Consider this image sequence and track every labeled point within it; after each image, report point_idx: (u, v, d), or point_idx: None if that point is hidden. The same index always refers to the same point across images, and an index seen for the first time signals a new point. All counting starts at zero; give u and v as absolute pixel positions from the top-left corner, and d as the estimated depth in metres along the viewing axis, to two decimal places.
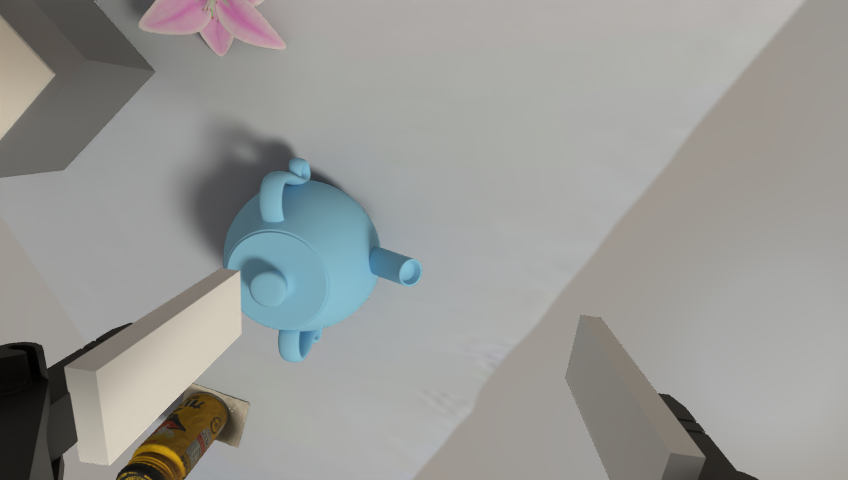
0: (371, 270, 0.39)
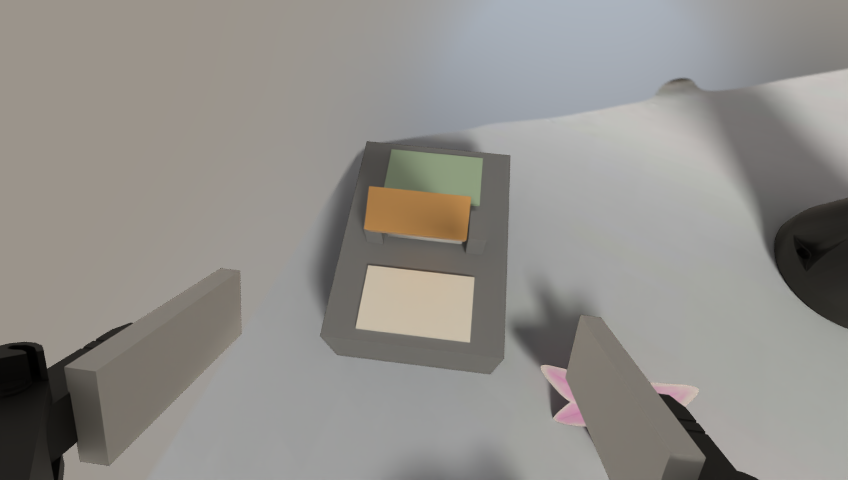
0: None
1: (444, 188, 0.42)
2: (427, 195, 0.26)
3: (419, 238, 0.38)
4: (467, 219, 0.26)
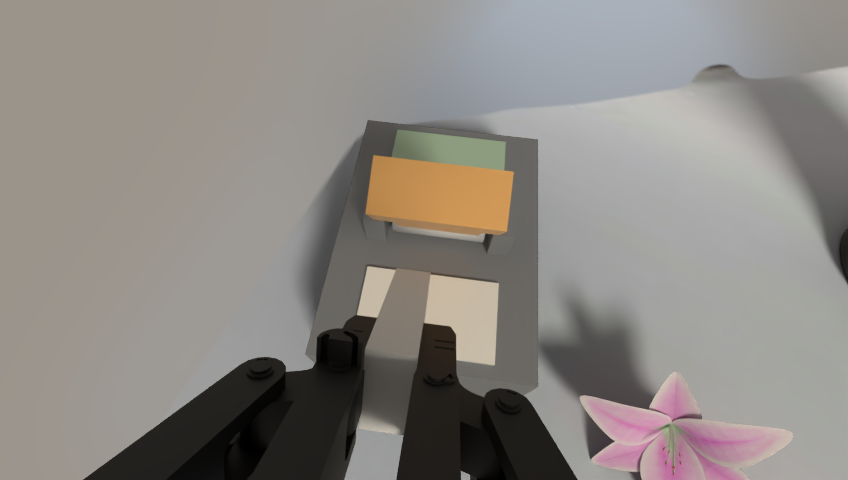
0: None
1: None
2: (453, 169, 0.19)
3: (431, 234, 0.31)
4: (508, 202, 0.19)
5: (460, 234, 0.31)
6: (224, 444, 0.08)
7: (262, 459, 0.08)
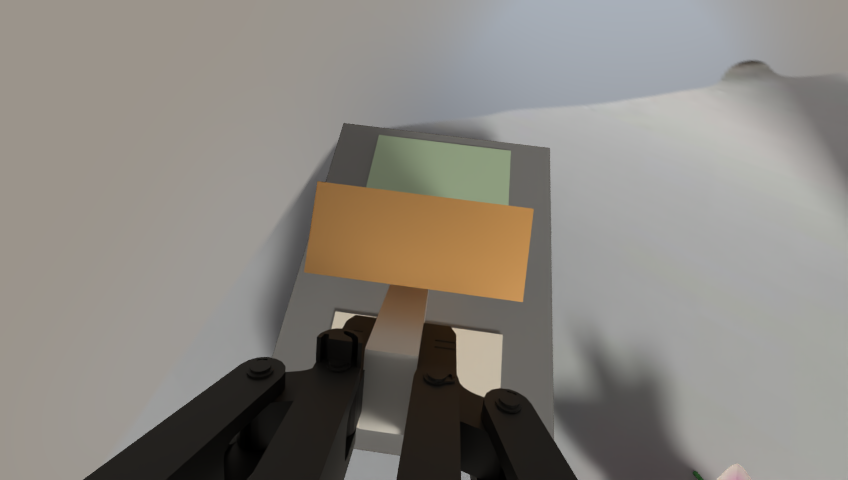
0: None
1: (454, 194, 0.28)
2: (440, 204, 0.12)
3: None
4: (525, 257, 0.12)
5: None
6: (223, 443, 0.08)
7: (262, 459, 0.08)
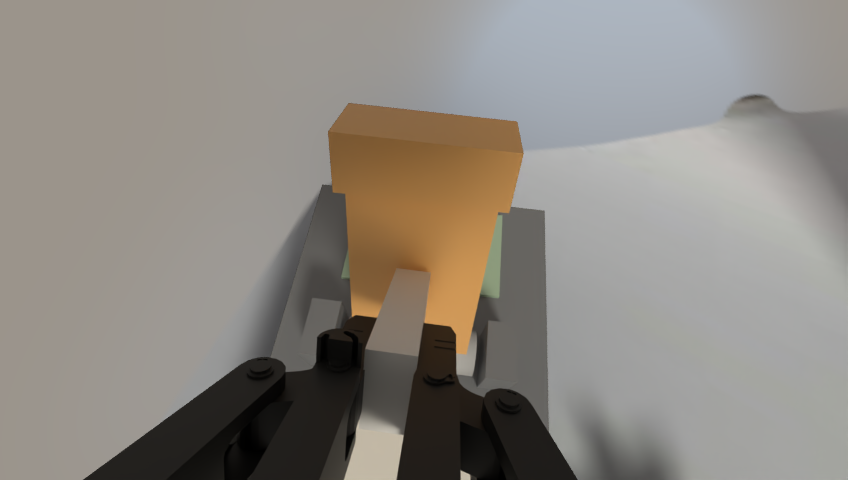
0: None
1: None
2: (445, 115, 0.16)
3: None
4: (518, 137, 0.15)
5: None
6: (224, 443, 0.08)
7: (262, 459, 0.08)
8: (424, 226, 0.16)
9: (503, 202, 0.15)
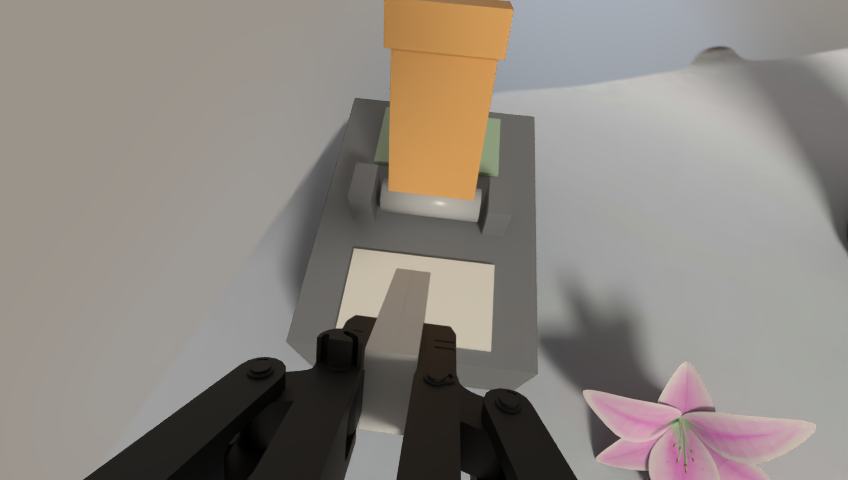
0: None
1: None
2: None
3: (423, 202, 0.28)
4: (510, 5, 0.22)
5: (455, 199, 0.28)
6: (224, 444, 0.08)
7: (262, 459, 0.08)
8: (445, 79, 0.23)
9: (500, 50, 0.22)
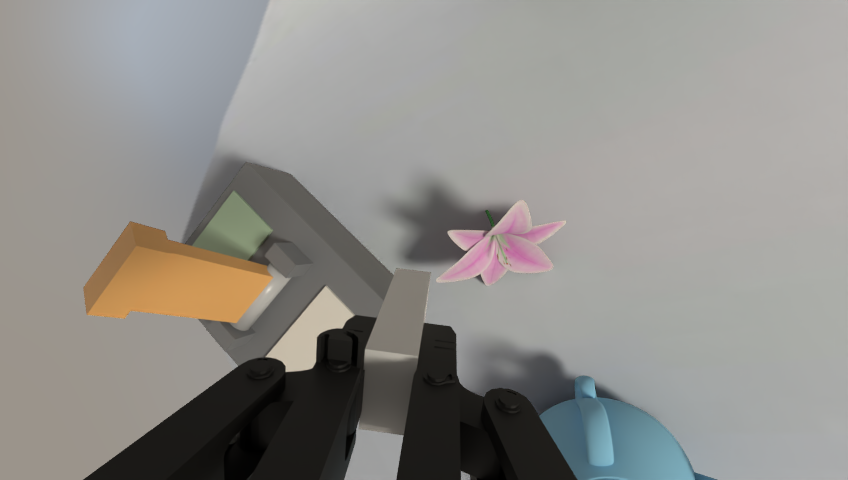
0: None
1: (240, 247, 0.41)
2: (110, 251, 0.29)
3: (256, 307, 0.38)
4: (133, 234, 0.28)
5: (265, 287, 0.38)
6: (223, 443, 0.08)
7: (262, 459, 0.08)
8: (168, 283, 0.32)
9: (164, 255, 0.29)
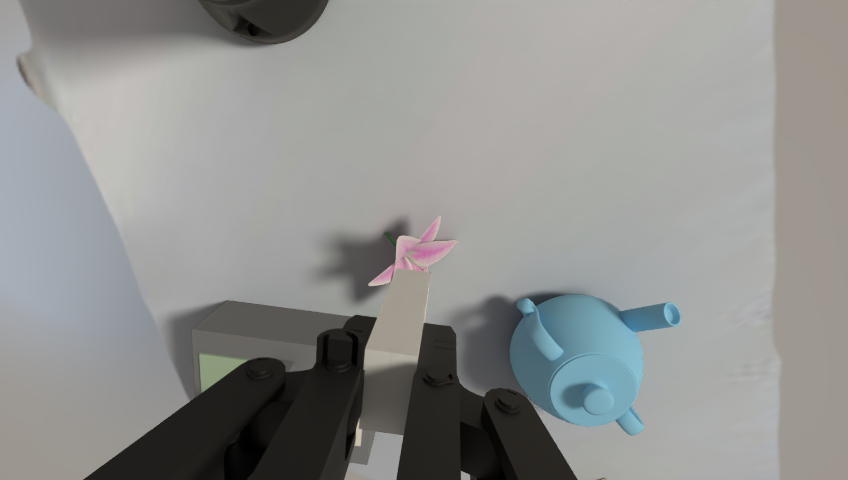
0: (633, 331, 0.46)
1: None
2: None
3: None
4: None
5: None
6: (223, 444, 0.08)
7: (262, 459, 0.08)
8: None
9: None
